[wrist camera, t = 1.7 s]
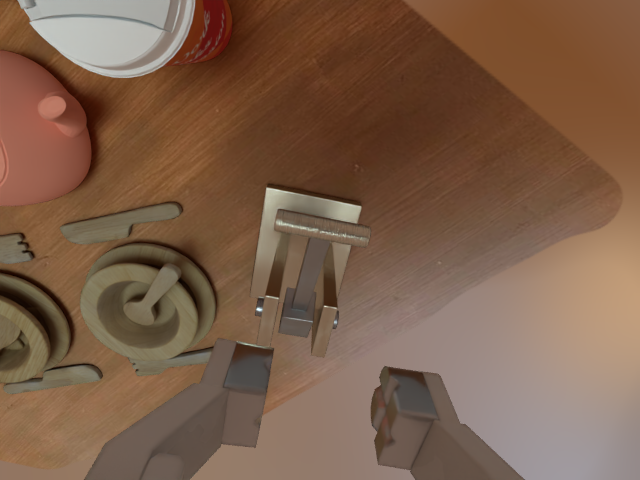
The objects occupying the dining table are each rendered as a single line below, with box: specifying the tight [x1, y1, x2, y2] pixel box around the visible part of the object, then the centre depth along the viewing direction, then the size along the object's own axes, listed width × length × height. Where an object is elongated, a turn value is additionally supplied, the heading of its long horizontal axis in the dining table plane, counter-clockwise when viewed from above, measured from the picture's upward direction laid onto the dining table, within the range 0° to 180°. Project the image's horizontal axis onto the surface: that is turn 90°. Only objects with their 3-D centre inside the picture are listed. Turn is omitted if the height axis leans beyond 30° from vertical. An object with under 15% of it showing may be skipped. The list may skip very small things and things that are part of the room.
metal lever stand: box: [250, 184, 362, 358], centre depth 32 cm, size 12×9×13 cm
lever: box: [274, 209, 371, 338], centre depth 24 cm, size 12×5×2 cm, turn 168°
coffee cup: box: [18, 0, 232, 78], centre depth 22 cm, size 8×8×15 cm
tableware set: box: [0, 202, 216, 394], centre depth 38 cm, size 30×20×6 cm, turn 102°
